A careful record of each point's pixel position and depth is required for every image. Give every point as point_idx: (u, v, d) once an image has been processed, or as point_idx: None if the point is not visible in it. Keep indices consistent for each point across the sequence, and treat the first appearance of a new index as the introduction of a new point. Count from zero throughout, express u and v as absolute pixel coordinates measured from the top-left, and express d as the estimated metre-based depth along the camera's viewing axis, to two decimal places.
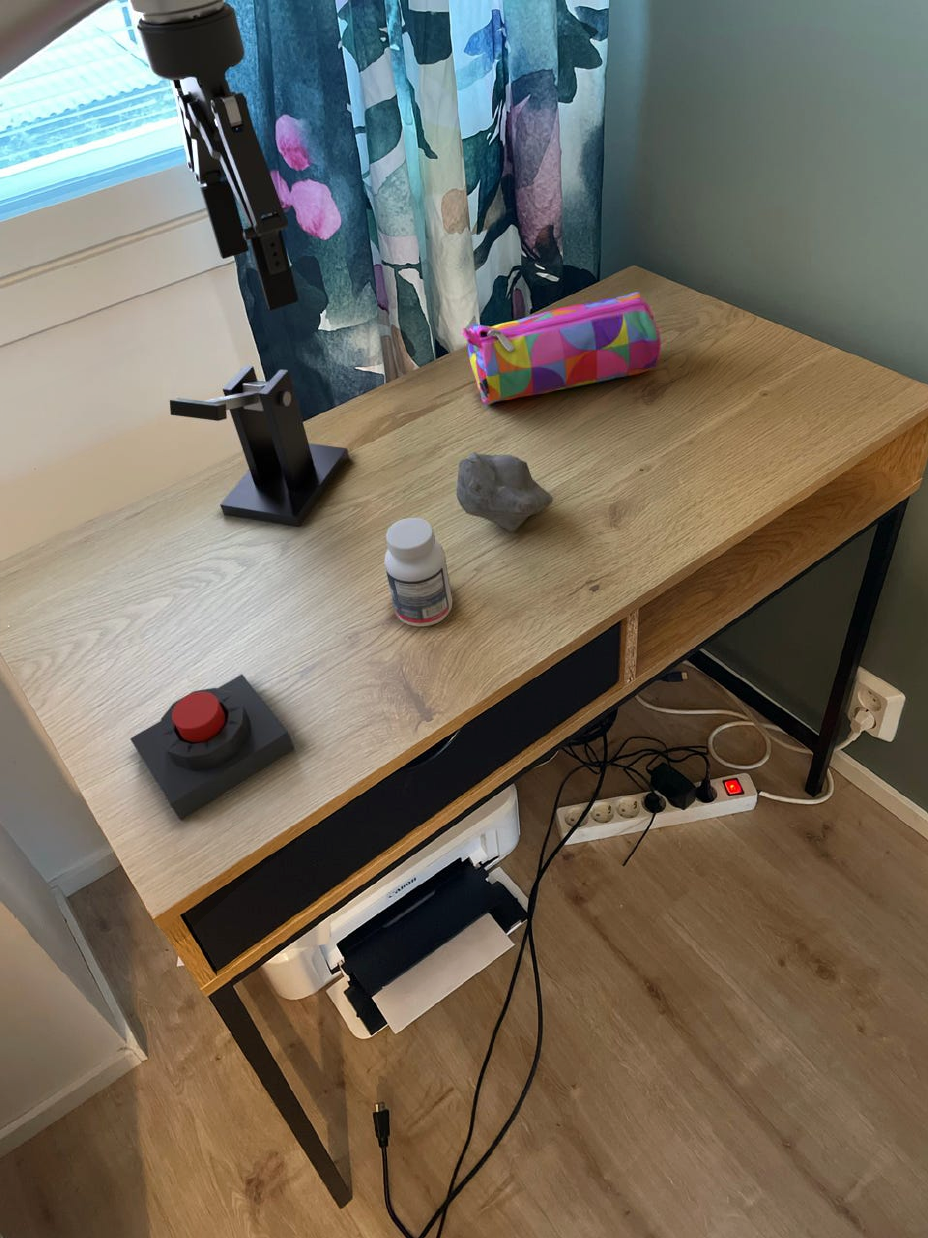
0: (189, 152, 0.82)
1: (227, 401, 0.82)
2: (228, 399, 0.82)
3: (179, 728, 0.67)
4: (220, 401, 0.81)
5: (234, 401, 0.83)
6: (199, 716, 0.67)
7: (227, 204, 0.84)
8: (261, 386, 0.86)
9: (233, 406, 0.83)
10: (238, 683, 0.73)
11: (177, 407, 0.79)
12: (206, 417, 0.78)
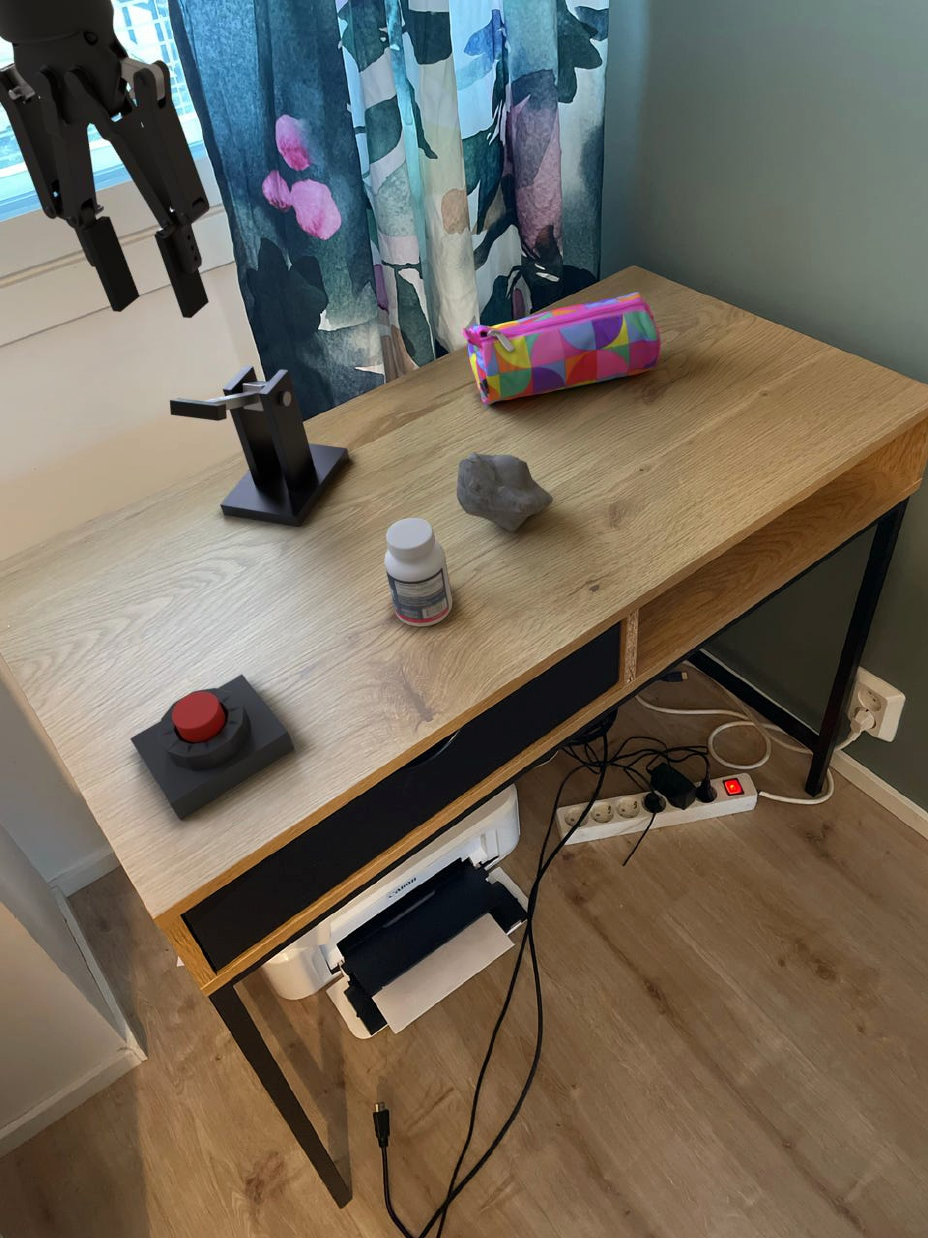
0: (46, 185, 0.66)
1: (227, 401, 0.82)
2: (228, 399, 0.82)
3: (179, 728, 0.67)
4: (220, 401, 0.81)
5: (234, 401, 0.83)
6: (199, 716, 0.67)
7: (112, 244, 0.70)
8: (261, 386, 0.86)
9: (233, 406, 0.83)
10: (238, 683, 0.73)
11: (177, 407, 0.79)
12: (206, 417, 0.78)
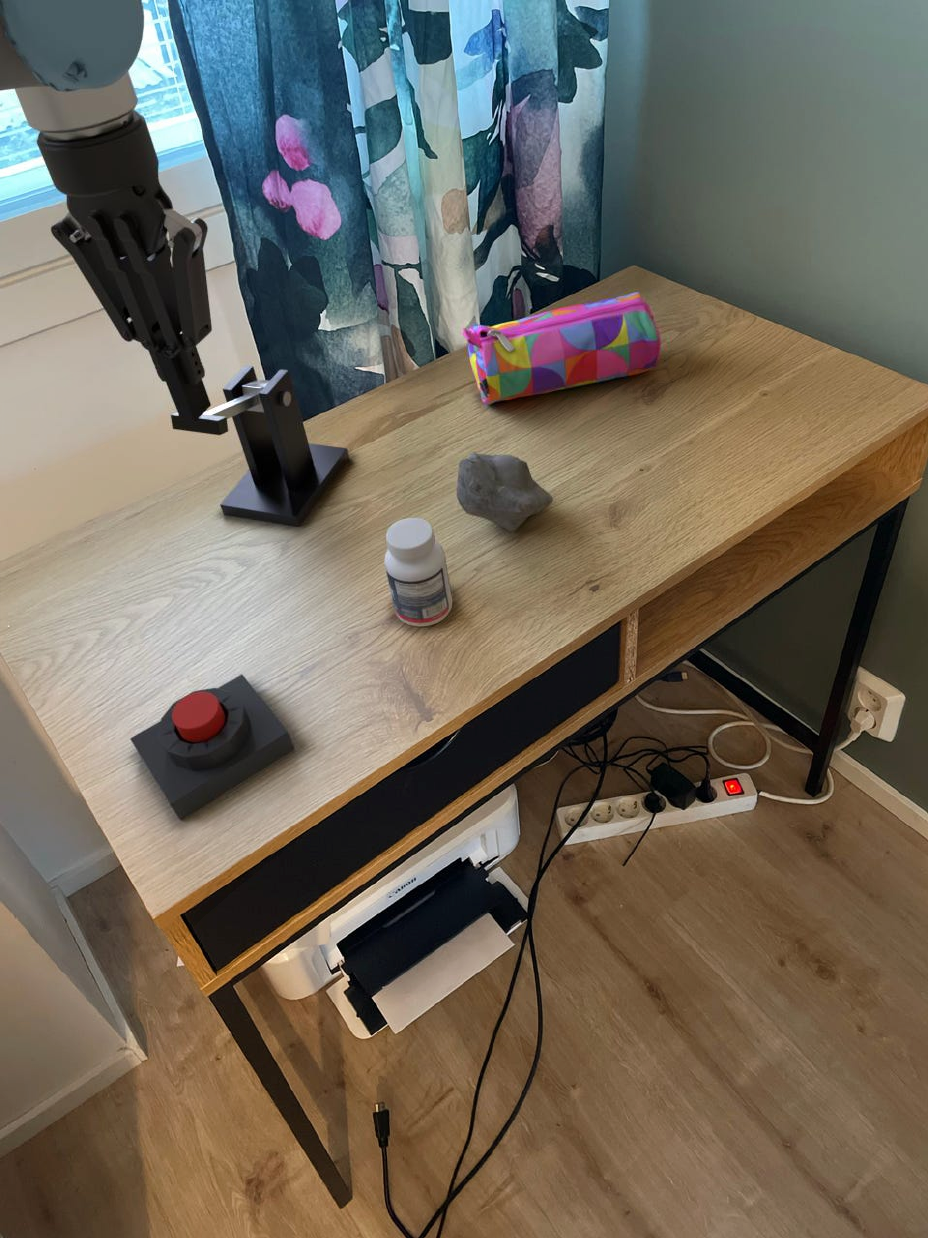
0: (118, 312, 0.72)
1: (228, 410, 0.82)
2: (228, 407, 0.82)
3: (179, 728, 0.67)
4: (221, 411, 0.81)
5: (235, 408, 0.83)
6: (199, 716, 0.67)
7: None
8: (260, 388, 0.86)
9: (234, 413, 0.83)
10: (238, 683, 0.73)
11: (178, 422, 0.80)
12: (208, 432, 0.79)
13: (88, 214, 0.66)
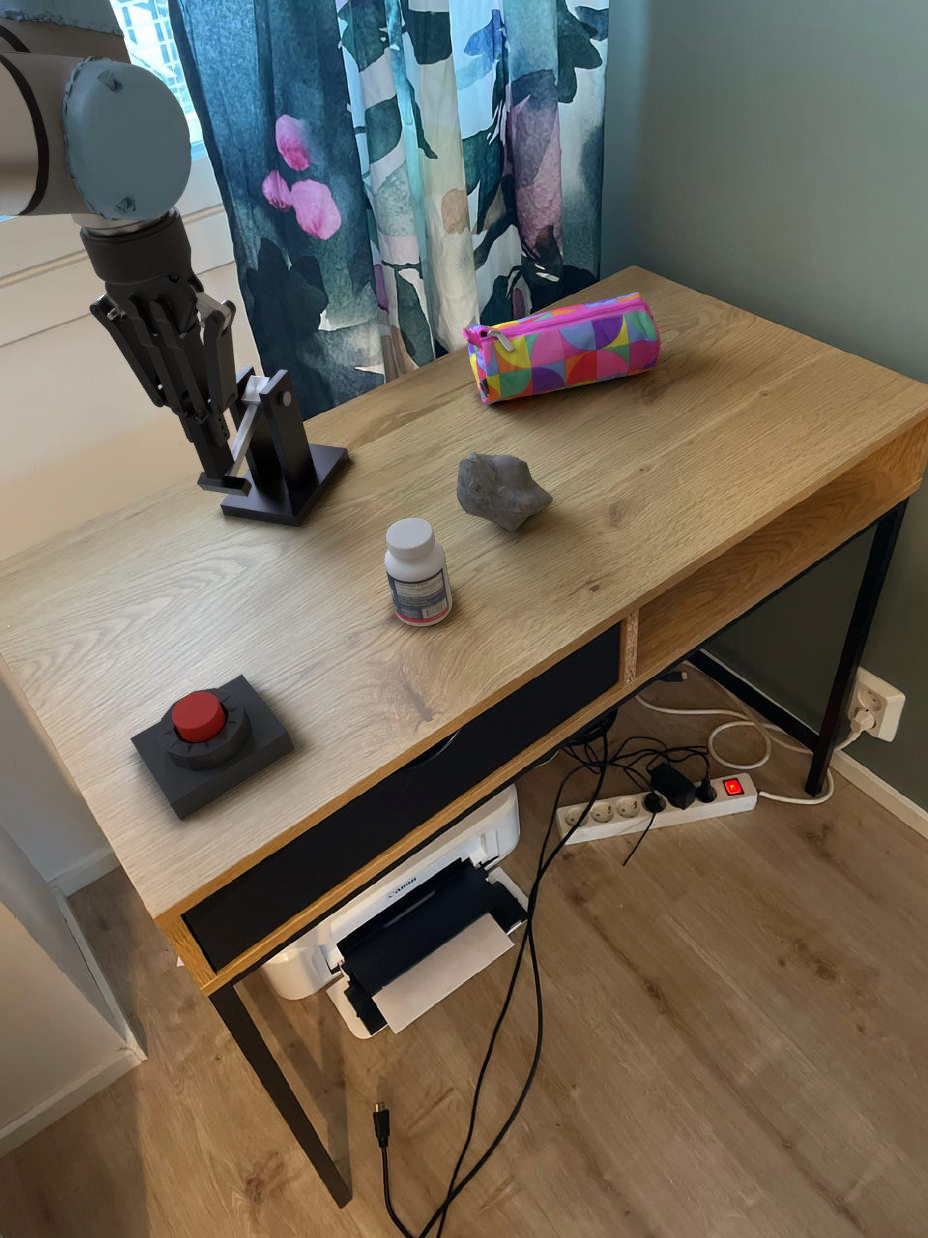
0: (150, 381, 0.77)
1: (241, 450, 0.86)
2: (241, 447, 0.85)
3: (179, 728, 0.67)
4: (237, 459, 0.85)
5: (246, 440, 0.86)
6: (199, 716, 0.67)
7: None
8: (259, 401, 0.86)
9: (247, 445, 0.86)
10: (238, 683, 0.73)
11: (206, 487, 0.85)
12: (236, 494, 0.85)
13: (125, 296, 0.71)
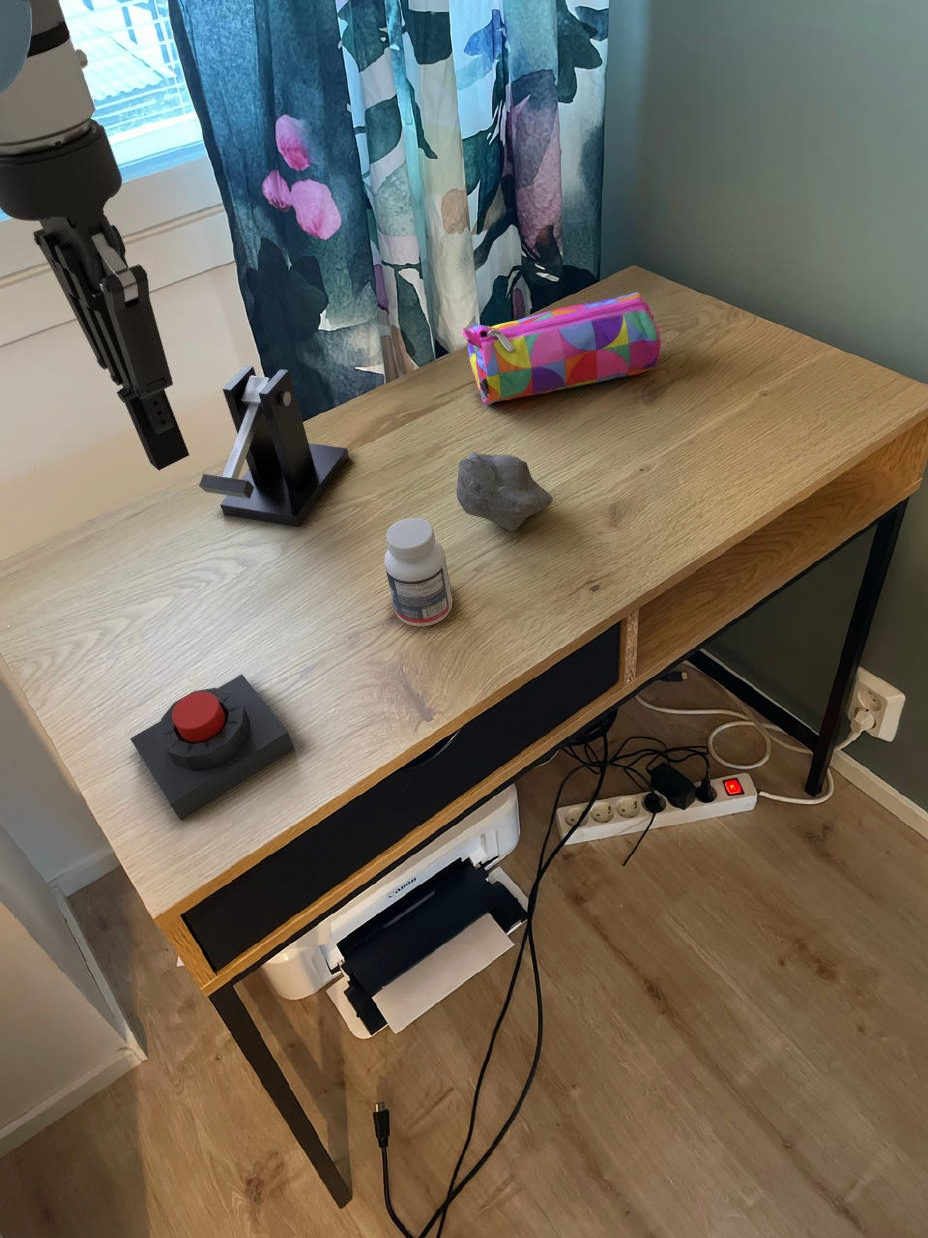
0: (91, 337, 0.64)
1: (242, 451, 0.86)
2: (242, 448, 0.86)
3: (179, 728, 0.67)
4: (238, 460, 0.85)
5: (247, 442, 0.86)
6: (199, 716, 0.67)
7: None
8: (259, 402, 0.86)
9: (248, 446, 0.87)
10: (238, 683, 0.73)
11: (208, 489, 0.86)
12: (238, 496, 0.85)
13: (49, 231, 0.58)
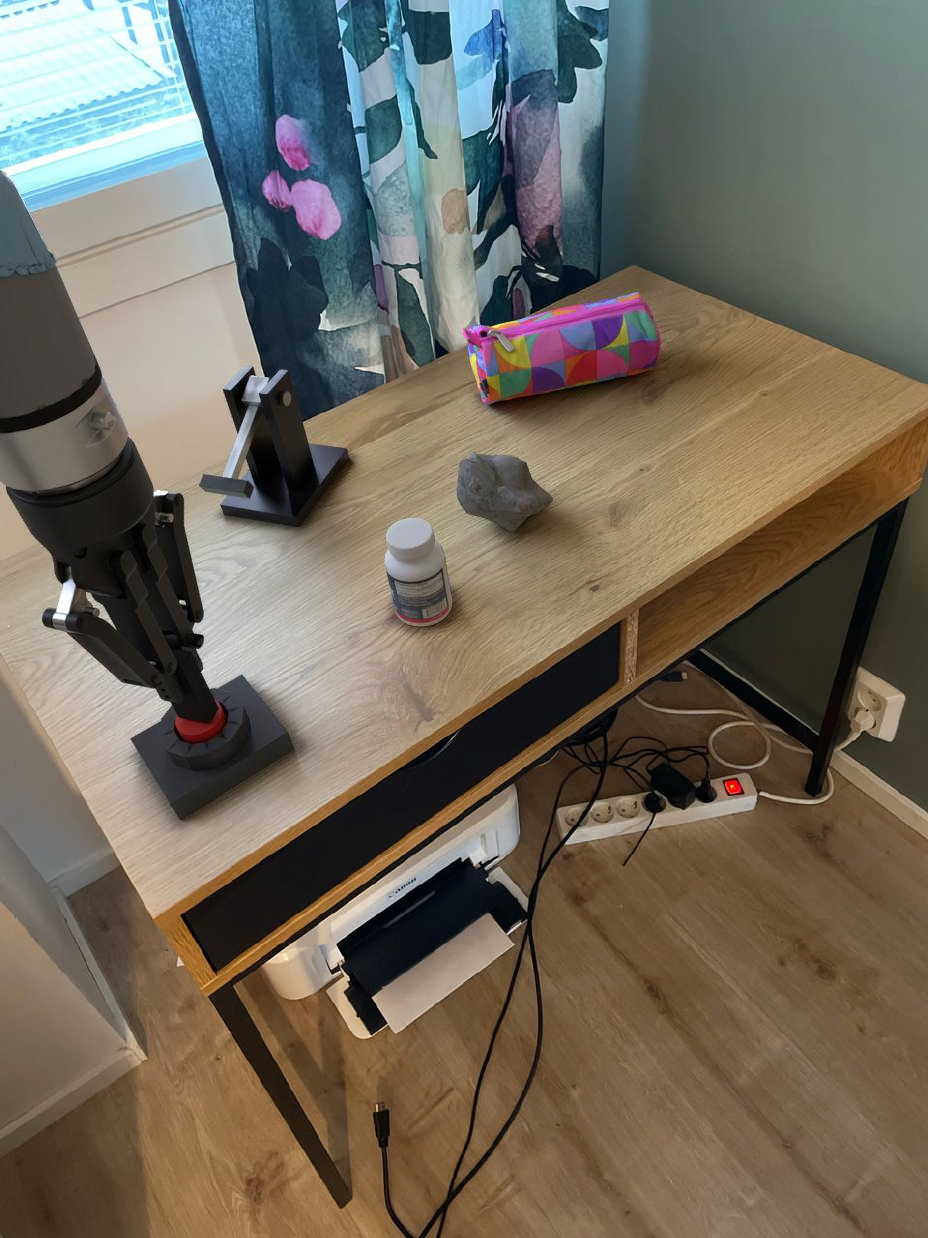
0: None
1: (242, 451, 0.86)
2: (242, 448, 0.86)
3: (182, 734, 0.67)
4: (238, 460, 0.85)
5: (247, 442, 0.86)
6: (202, 723, 0.68)
7: None
8: (259, 402, 0.86)
9: (248, 446, 0.87)
10: (238, 683, 0.73)
11: (208, 489, 0.86)
12: (238, 496, 0.85)
13: None
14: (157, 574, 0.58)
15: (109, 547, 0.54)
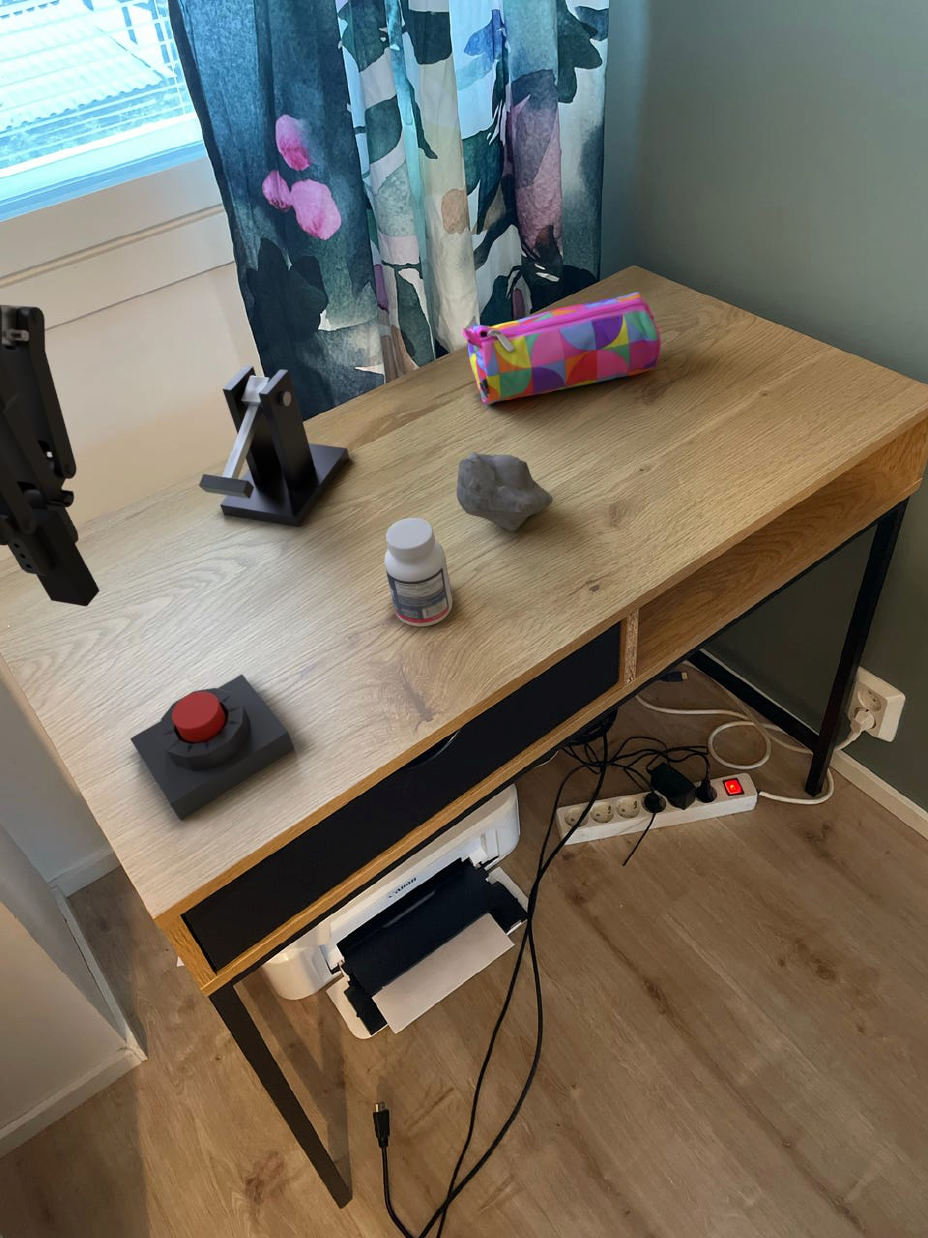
0: None
1: (242, 451, 0.86)
2: (242, 448, 0.86)
3: (179, 728, 0.67)
4: (238, 460, 0.85)
5: (247, 442, 0.86)
6: (199, 717, 0.67)
7: None
8: (259, 402, 0.86)
9: (248, 446, 0.87)
10: (238, 683, 0.73)
11: (208, 489, 0.86)
12: (238, 496, 0.85)
13: None
14: (3, 398, 0.47)
15: None
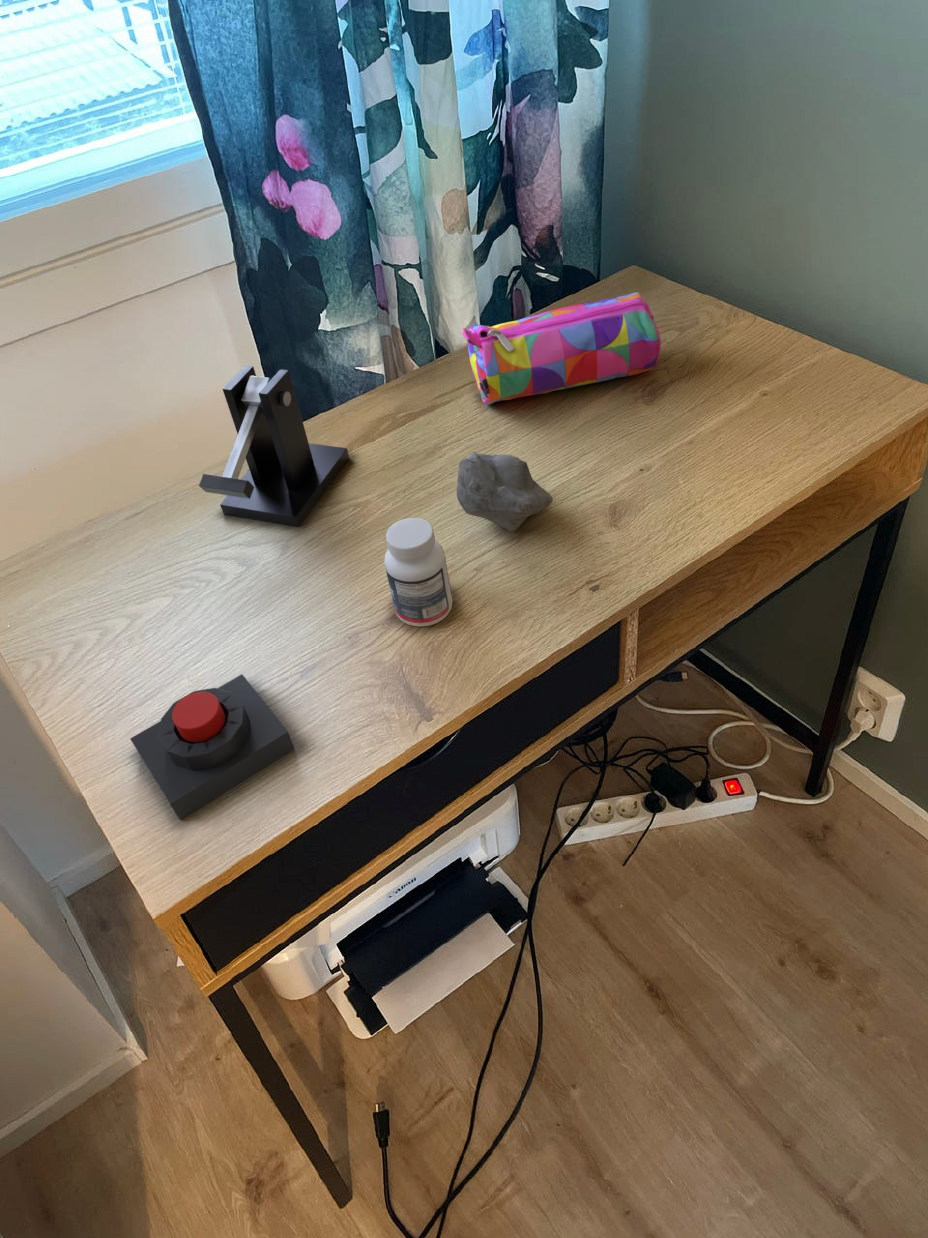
0: None
1: (242, 451, 0.86)
2: (242, 448, 0.86)
3: (179, 728, 0.67)
4: (238, 460, 0.85)
5: (247, 442, 0.86)
6: (199, 717, 0.67)
7: None
8: (259, 402, 0.86)
9: (248, 446, 0.87)
10: (238, 683, 0.73)
11: (208, 489, 0.86)
12: (238, 496, 0.85)
13: None
14: None
15: None
